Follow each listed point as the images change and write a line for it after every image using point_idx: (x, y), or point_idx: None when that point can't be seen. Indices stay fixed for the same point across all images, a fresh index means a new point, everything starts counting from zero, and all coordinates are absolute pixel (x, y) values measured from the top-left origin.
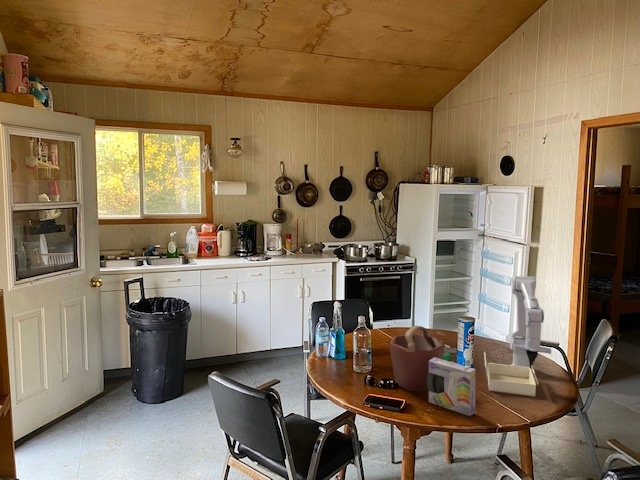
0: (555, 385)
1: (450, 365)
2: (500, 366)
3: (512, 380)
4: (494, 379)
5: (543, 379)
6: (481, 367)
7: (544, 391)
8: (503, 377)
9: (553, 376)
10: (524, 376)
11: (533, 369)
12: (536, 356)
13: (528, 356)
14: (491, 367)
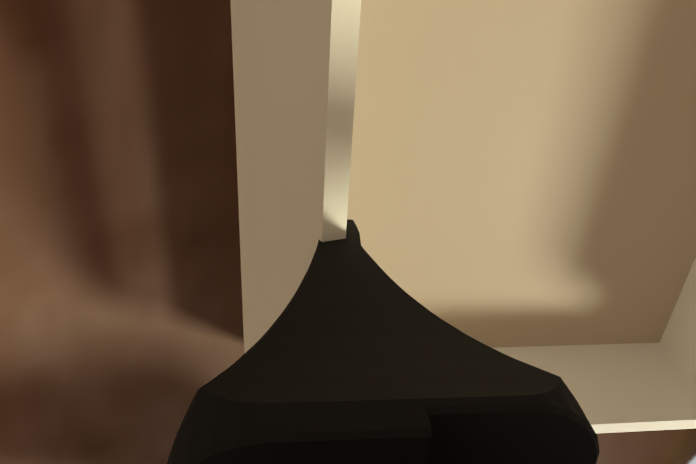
0: (9, 260)
1: None
2: (596, 406)
3: (476, 229)
4: (667, 199)
5: (140, 368)
6: (658, 440)
7: (133, 34)
8: (549, 279)
9: (45, 457)
10: None
11: (298, 136)
12: (227, 377)
13: (492, 354)
14: (670, 385)
